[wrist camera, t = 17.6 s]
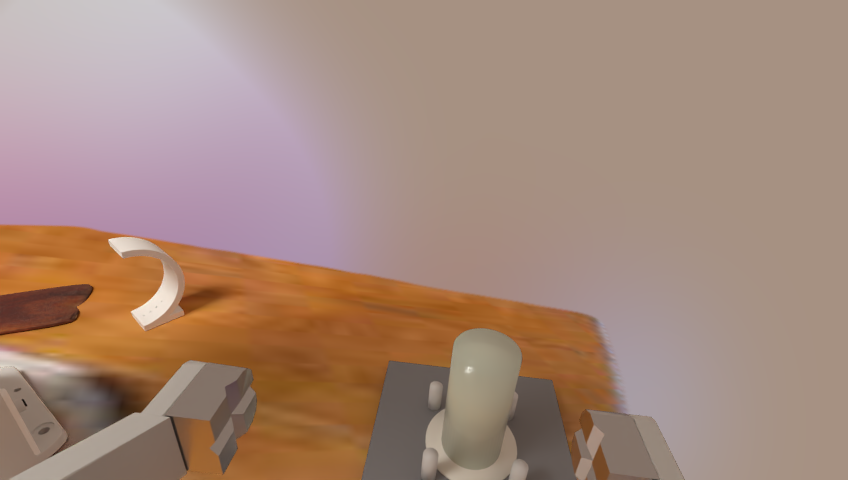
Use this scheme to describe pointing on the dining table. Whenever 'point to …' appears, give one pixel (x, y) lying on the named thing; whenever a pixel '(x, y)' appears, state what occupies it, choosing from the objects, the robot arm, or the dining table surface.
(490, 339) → the canister
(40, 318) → the wooden tablet
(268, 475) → the dining table surface
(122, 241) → the headphone stand
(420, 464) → the peg stand
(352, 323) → the dining table surface
